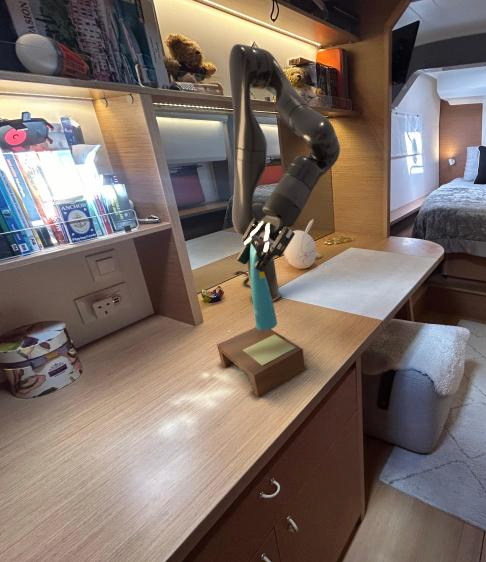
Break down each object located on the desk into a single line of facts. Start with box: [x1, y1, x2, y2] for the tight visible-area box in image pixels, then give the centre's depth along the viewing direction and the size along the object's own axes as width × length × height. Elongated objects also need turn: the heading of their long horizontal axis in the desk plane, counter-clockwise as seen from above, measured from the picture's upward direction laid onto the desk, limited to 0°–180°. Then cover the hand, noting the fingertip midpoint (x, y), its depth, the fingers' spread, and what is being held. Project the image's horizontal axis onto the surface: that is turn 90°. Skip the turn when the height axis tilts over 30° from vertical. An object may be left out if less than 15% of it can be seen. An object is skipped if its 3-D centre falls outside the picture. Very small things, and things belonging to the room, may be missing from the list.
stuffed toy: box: [283, 218, 323, 270], centre depth 147 cm, size 19×14×25 cm
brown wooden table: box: [216, 326, 306, 398], centre depth 84 cm, size 18×13×6 cm
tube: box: [250, 244, 278, 330], centre depth 76 cm, size 7×5×19 cm, turn 30°
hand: (249, 266), depth 72 cm, fingers closed on tube, 6 cm apart
